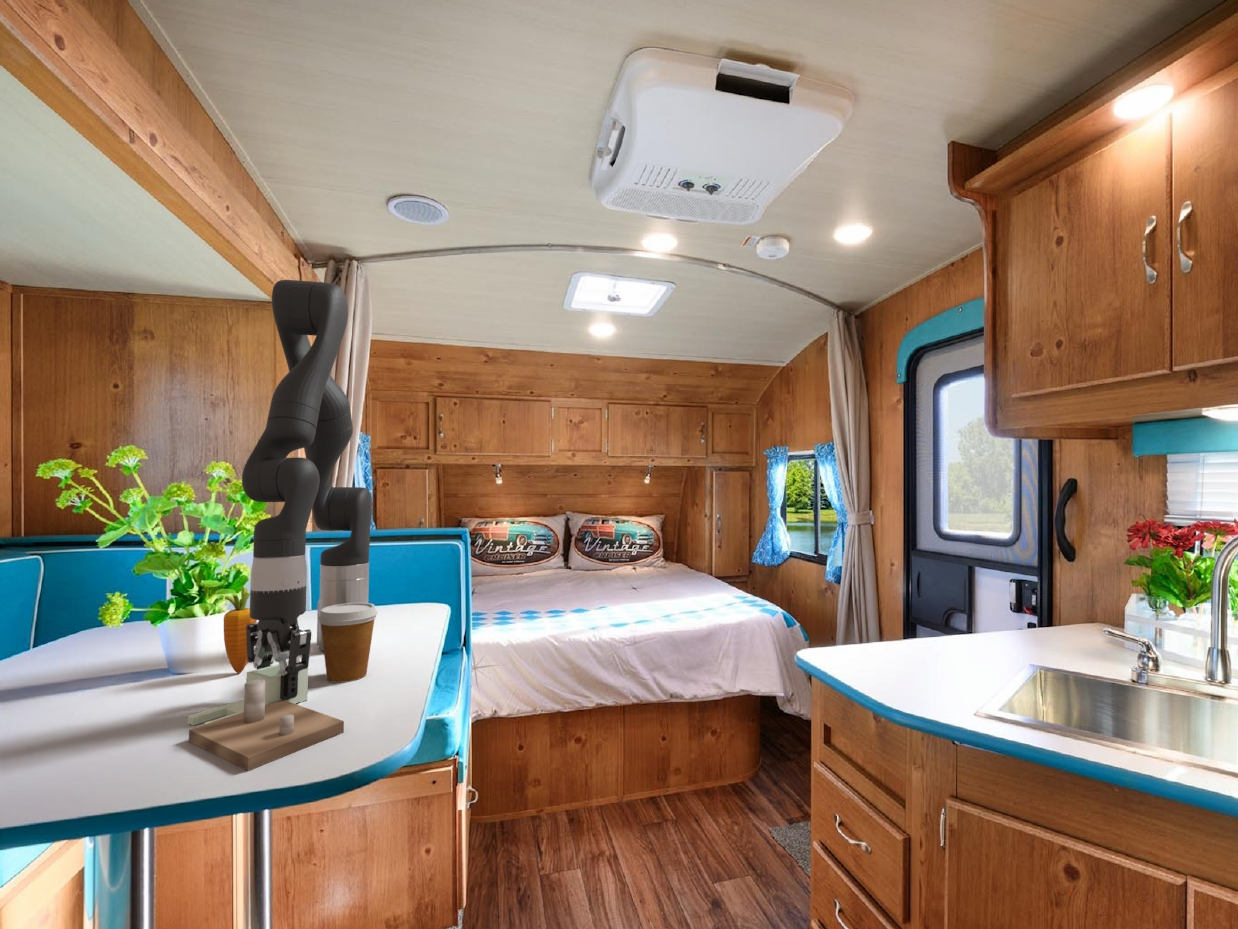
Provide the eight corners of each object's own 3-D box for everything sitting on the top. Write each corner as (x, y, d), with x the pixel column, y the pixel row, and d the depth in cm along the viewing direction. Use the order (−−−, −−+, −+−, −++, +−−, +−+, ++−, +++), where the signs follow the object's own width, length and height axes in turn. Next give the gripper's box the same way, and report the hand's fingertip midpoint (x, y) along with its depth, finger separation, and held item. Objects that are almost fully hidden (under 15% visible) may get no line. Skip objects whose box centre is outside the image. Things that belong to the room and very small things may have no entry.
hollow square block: (285, 693, 90) (286, 662, 91) (307, 700, 87) (308, 668, 88) (188, 723, 79) (189, 687, 79) (208, 733, 76) (209, 695, 76)
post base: (188, 741, 73) (190, 690, 74) (282, 709, 84) (283, 665, 84) (248, 770, 66) (249, 714, 66) (343, 732, 76) (344, 683, 76)
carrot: (235, 679, 97) (237, 592, 97) (215, 676, 98) (217, 590, 99) (262, 670, 102) (264, 587, 102) (242, 667, 103) (244, 585, 104)
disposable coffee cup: (304, 680, 97) (305, 610, 97) (353, 664, 105) (354, 600, 105) (340, 689, 92) (341, 616, 93) (388, 672, 101) (389, 605, 101)
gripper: (329, 584, 87) (327, 695, 86) (277, 579, 94) (275, 681, 93) (280, 592, 80) (277, 711, 79) (228, 585, 88) (225, 695, 87)
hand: (276, 694), depth 86 cm, fingers closed on hollow square block, 6 cm apart
